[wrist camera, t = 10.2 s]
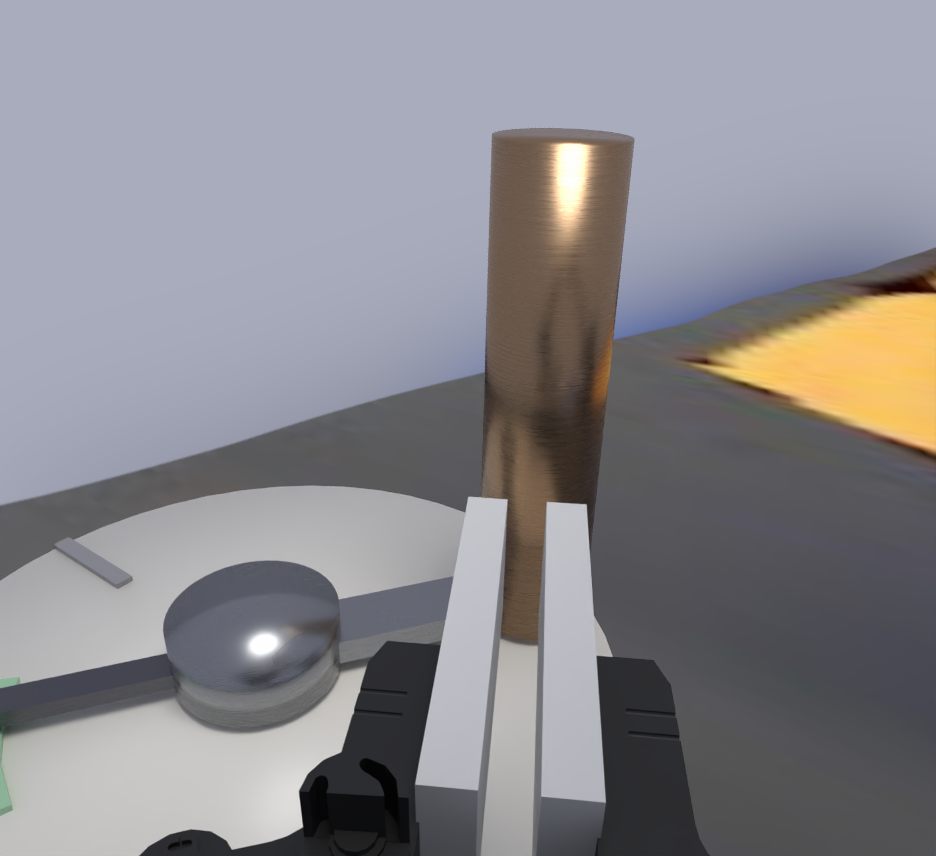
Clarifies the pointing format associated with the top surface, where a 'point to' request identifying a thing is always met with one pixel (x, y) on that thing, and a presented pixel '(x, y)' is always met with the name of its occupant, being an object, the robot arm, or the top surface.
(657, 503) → the top surface
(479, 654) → the robot arm
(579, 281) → the crank handle
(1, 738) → the round white plate
